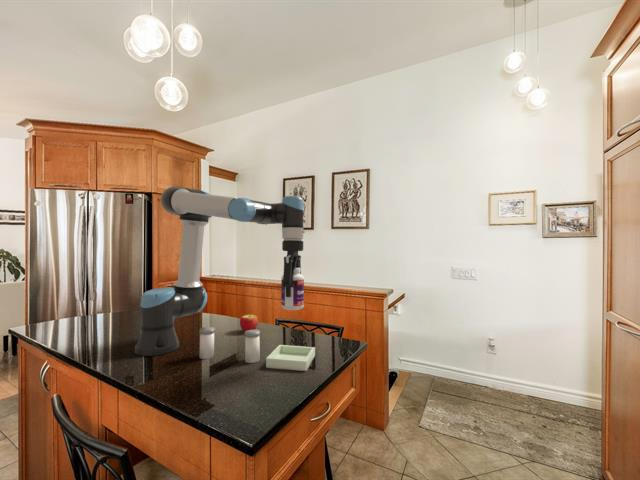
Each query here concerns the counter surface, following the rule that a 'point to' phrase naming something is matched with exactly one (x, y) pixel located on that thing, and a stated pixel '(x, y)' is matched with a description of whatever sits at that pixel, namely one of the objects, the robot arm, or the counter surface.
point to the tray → (291, 357)
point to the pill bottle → (294, 291)
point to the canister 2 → (252, 346)
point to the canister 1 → (206, 342)
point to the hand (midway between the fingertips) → (292, 303)
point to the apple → (248, 322)
